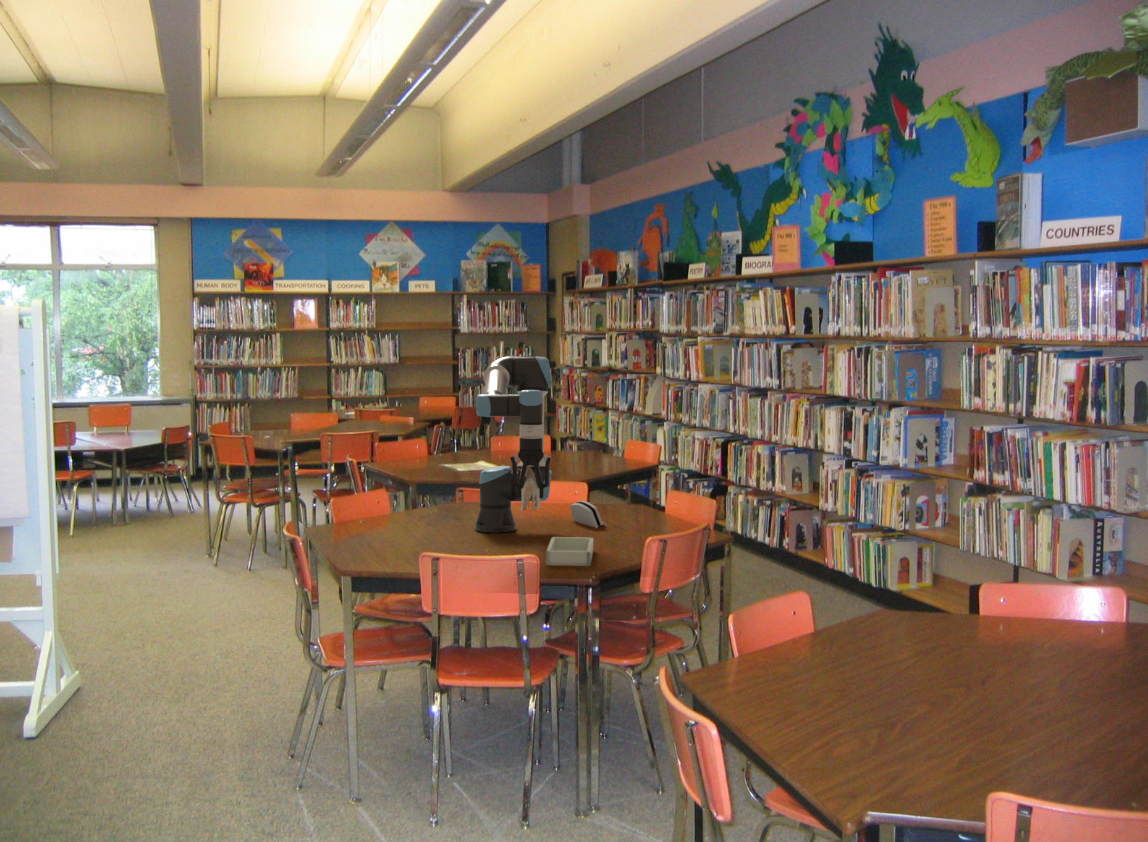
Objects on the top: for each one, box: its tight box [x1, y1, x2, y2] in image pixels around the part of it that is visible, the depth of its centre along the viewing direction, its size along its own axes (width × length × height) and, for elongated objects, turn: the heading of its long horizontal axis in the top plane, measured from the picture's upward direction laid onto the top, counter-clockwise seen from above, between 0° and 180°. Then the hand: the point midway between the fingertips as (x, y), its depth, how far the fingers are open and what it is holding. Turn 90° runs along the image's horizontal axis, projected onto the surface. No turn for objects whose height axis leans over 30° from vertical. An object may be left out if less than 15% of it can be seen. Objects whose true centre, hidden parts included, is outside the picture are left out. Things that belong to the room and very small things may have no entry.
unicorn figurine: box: [517, 467, 538, 512], centre depth 320 cm, size 7×20×13 cm, turn 15°
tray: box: [545, 536, 594, 567], centre depth 317 cm, size 14×22×4 cm, turn 176°
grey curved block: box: [569, 500, 607, 529], centre depth 374 cm, size 17×5×10 cm, turn 30°
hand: (530, 507), depth 319 cm, fingers closed on unicorn figurine, 4 cm apart
